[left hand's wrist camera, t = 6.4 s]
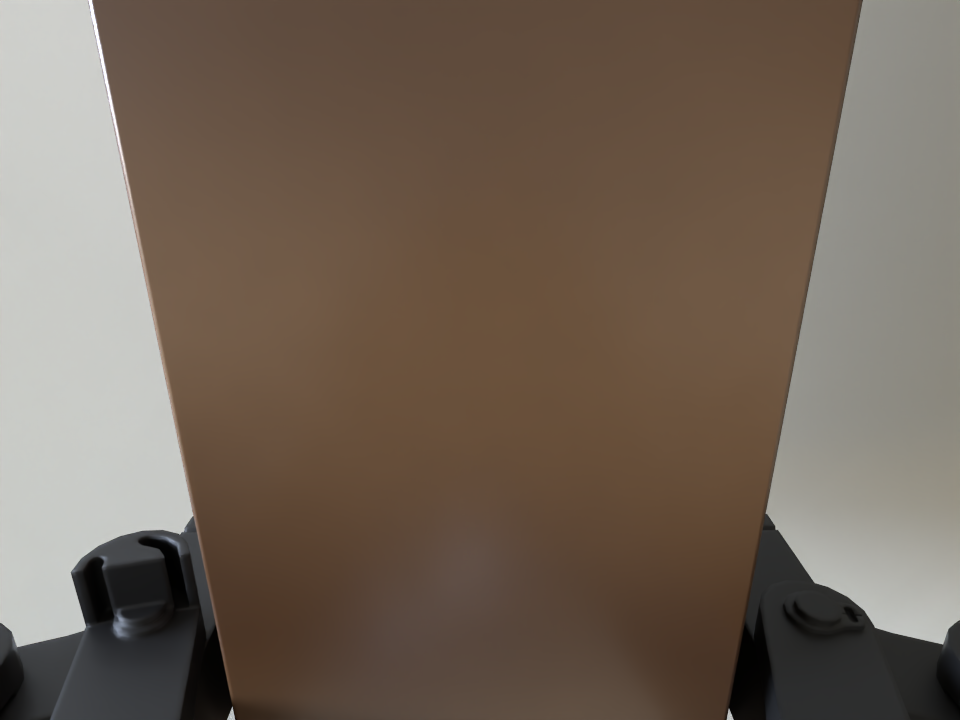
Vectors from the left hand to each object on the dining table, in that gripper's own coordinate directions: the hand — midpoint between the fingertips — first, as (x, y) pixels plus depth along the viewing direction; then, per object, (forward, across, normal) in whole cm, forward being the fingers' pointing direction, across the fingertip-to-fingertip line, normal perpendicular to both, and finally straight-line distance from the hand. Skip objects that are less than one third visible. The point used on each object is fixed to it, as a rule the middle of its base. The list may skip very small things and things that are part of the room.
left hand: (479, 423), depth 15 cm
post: (0, 0, -31) cm, 31 cm away
